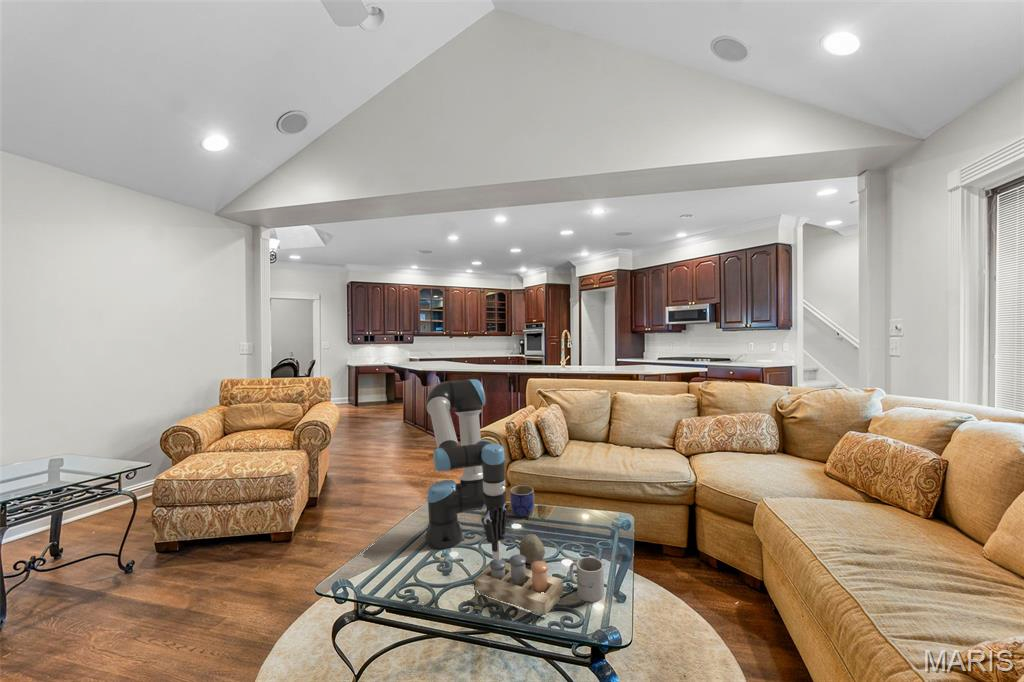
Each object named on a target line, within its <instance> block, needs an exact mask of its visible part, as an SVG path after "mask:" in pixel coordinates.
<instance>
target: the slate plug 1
mask: <svg viewBox="0 0 1024 682" xmlns="http://www.w3.org/2000/svg"><path fill="white" fill-rule="evenodd" d="M506 563H507V562H506V560H504V559H503V558H502V559H501V560H500V561H498V560H495V559H492V560H491V561H490V562H489V566H490V568H491V577H493V578H496V579H499V580H501V579H502V578H503V577H504V576H505V566H506Z"/></svg>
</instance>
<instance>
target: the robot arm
mask: <svg viewBox="0 0 1024 682" xmlns="http://www.w3.org/2000/svg"><path fill="white" fill-rule="evenodd" d="M485 405H486V394H485V390H484V387H483V384H482V383H481V381H480V380H478V379H462V380H460V379H459V380H450V381H443V382H440V383H438V384H436V385H435V386H434V387H433V388H432V389H431V390H430V391H429V393H428V394H427V397H426V401H425V407H426V411H427V413H428V414H429V415H430V419H431V423H432V428H433V432H434V438H435V443H436V449H434V450H433V452H432V453H433V455H432V456H433V466H434V470H436V472H437V471H438V472H443V471H444V472H445V471H446V472H447V471H448V472H449V471H452V470H453V471H454V470H458V469H462V472H463V473H462V475H461V476H460V477H459V483H457V482H456V481H455V480H454V479H442V480H440V481H437V482H435V483H432V484H431V485H430V486H429V488H428V489H427V499H426V501H427V507H428V510H427V511H428V525H427V529H426V533H425V544H426V543H427V544H428V545H427V544H426V545H427V546H428V547H429V548H432V549H440V550H441V549H448V548H452V547H455V546H457V545H458V544H460V543H461V542H462V540H463V539H464V538H463V537H464V536H463V530H462V527H461V525H460V522H459V519H458V514H462V513H468V512H469V513H470V512H473V511H482V510H485V509H486V511H485V514H486V515H485V517H482V518H481V523H482V524H483V527H484V532H485V537H486V541H487V543H490V544H491V552H492V554H491V555H492V560H494V559H495V560H498V561H500V560H501V559H503V556H502V555H503V554H502V541H504V539H505V534H506V528H507V527H506V525H507V515H508V509H509V504H506V502H507V492H506V488H507V487H506V466H505V465H506V455H505V449H504V447H503V445H501V444H498V443H492V442H491V441H490V440H487V439H482V438H481V437H482V436H481V425H480V414H481V413H482V411H483V407H484V406H485ZM452 409H453V410H454V414H456V415H457V416H458V422H459V423H458V424H459V437H460V445H459V441H458V437H457V433H456V431H455V430H456V429H455V426H454V422H453V419H452V416H451V415H452V414H451V412H450V410H452Z"/></svg>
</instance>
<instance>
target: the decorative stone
mask: <svg viewBox="0 0 1024 682" xmlns="http://www.w3.org/2000/svg"><path fill="white" fill-rule="evenodd" d="M545 554H546V551H545V545H544V543H543V542H542V541H541V539H540V538H539V536H537V535H536V534H535V533H533V534H532V533H529V534H526V535H525V536H524V537H522V538H521V541H520V543H519V555H523V556H525V558H526V563H525V564H530V565H531V564H532V563H533V562H535V561H543V559H544V557H545Z"/></svg>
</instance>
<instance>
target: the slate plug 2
mask: <svg viewBox="0 0 1024 682" xmlns="http://www.w3.org/2000/svg"><path fill="white" fill-rule="evenodd" d="M509 563H510V564H511V581H512V582H513V583H515V584H522V583H524V582H525V581H526V572H525V568H526V564H527V563H526V558H525V556H523V555H520V554H514V555H511V556H510V557H509Z"/></svg>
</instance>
